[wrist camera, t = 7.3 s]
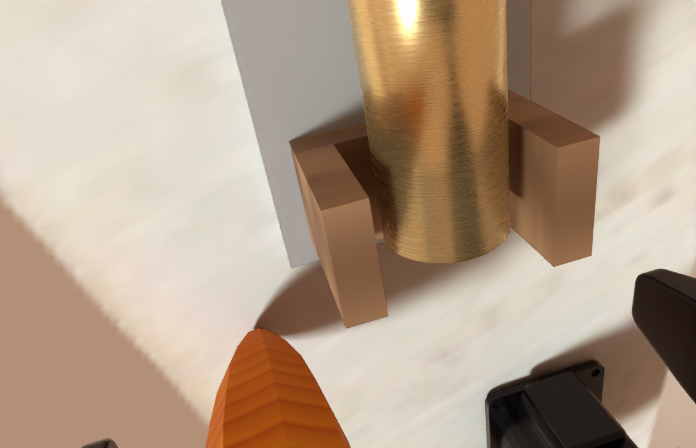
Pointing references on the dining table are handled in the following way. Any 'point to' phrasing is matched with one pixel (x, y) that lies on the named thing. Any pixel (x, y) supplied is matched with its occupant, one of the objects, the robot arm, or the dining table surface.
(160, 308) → the dining table surface
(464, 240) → the tube
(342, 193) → the wooden u-shaped cradle
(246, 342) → the carrot
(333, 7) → the board
